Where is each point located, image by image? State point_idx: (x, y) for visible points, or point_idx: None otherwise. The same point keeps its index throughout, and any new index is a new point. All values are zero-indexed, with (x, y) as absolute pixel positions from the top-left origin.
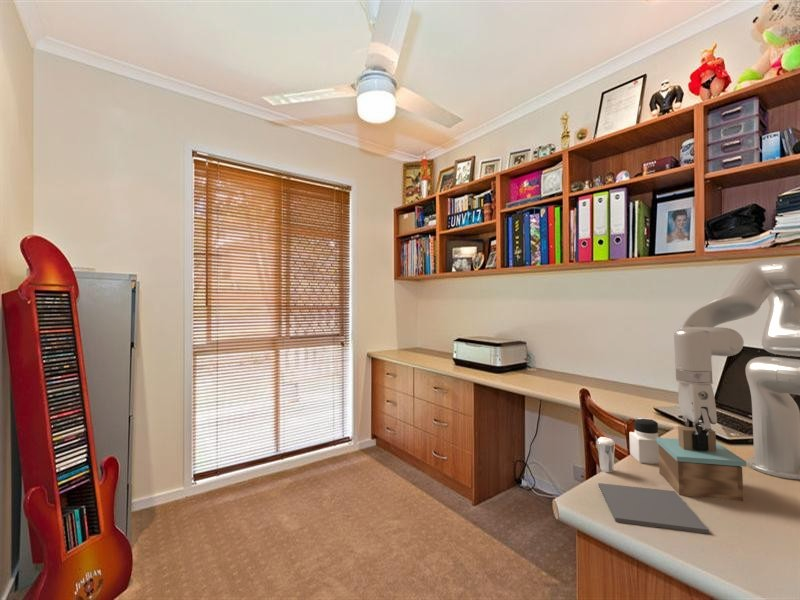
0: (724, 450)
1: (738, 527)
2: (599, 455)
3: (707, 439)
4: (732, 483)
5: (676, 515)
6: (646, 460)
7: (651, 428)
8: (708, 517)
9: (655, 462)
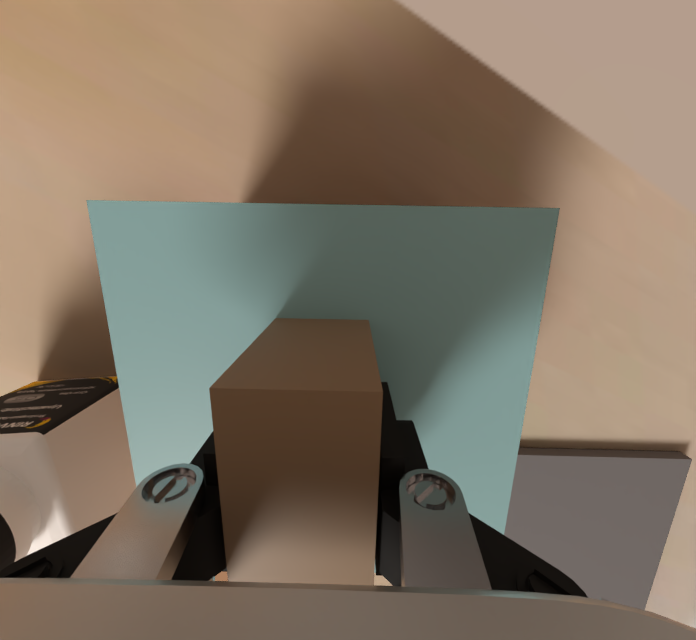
0: (321, 243)
1: (641, 354)
2: None
3: (399, 433)
4: None
5: (612, 508)
6: None
7: None
8: (583, 411)
9: None
